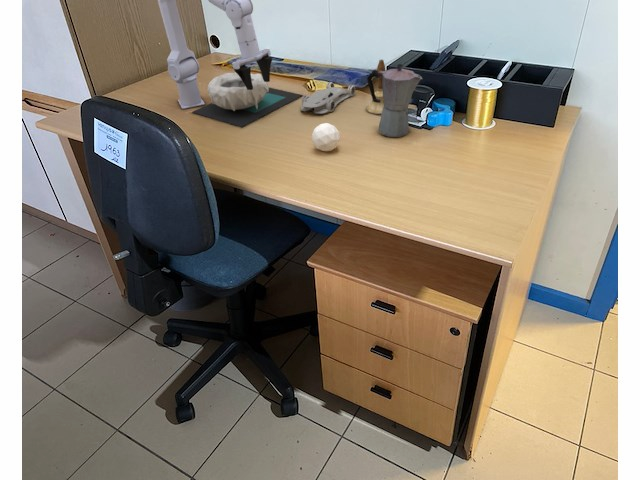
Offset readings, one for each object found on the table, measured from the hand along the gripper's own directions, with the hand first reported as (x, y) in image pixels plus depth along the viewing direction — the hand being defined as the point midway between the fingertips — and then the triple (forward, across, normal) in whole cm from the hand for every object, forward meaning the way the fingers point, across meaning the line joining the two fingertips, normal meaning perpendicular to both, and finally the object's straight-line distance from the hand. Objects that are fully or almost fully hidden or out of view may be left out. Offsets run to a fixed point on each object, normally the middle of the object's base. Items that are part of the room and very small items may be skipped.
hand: (258, 85), depth 152 cm
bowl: (+8, +1, +13) cm, 16 cm away
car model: (+13, +20, -9) cm, 25 cm away
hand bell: (+15, +25, -28) cm, 40 cm away
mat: (+9, +4, +14) cm, 17 cm away
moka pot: (+17, +12, -40) cm, 45 cm away
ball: (+15, -7, -31) cm, 35 cm away
